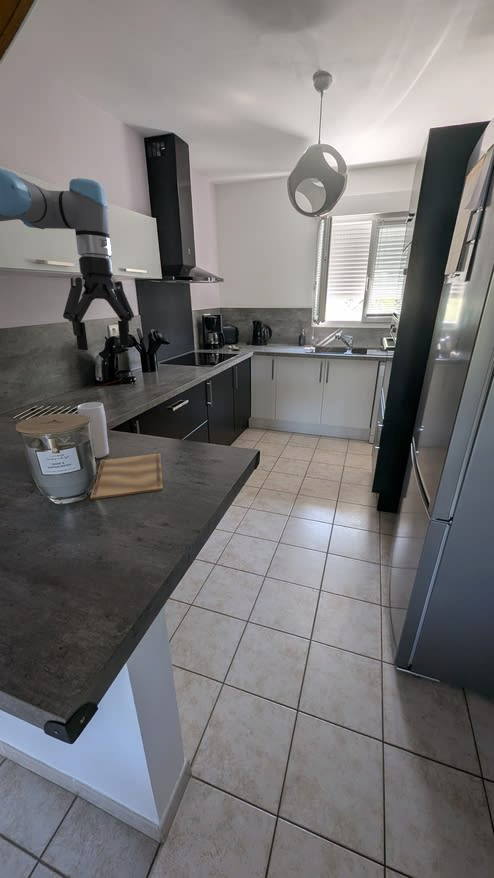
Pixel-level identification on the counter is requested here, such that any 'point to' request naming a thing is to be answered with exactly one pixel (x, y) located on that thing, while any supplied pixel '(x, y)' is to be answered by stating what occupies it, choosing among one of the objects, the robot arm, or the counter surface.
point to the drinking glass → (96, 426)
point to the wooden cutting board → (128, 476)
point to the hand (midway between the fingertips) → (105, 347)
